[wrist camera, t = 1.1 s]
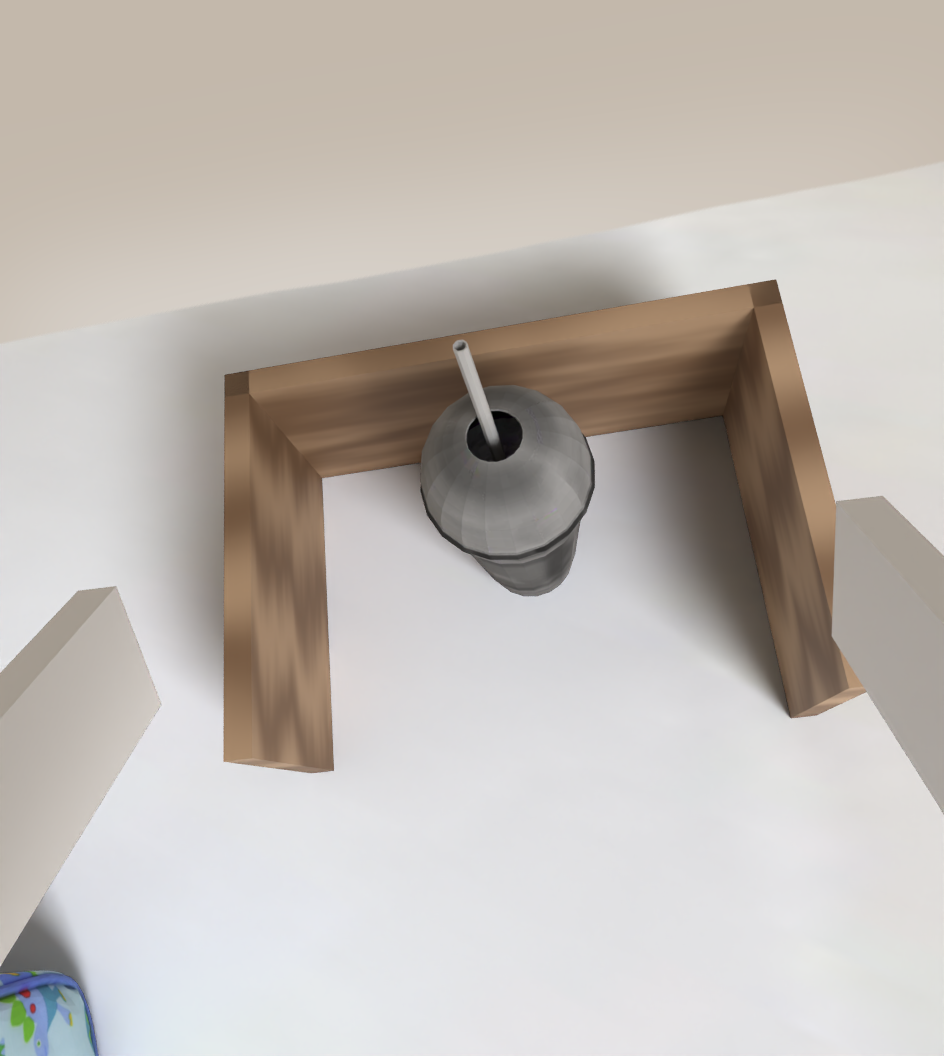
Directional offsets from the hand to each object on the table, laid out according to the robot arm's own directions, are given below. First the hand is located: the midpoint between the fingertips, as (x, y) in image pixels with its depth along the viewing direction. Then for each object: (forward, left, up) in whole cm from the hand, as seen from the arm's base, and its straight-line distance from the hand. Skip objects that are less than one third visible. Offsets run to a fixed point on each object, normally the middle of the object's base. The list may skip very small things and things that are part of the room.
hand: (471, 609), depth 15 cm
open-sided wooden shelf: (+7, -5, -28) cm, 30 cm away
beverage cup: (+8, -6, -28) cm, 30 cm away
